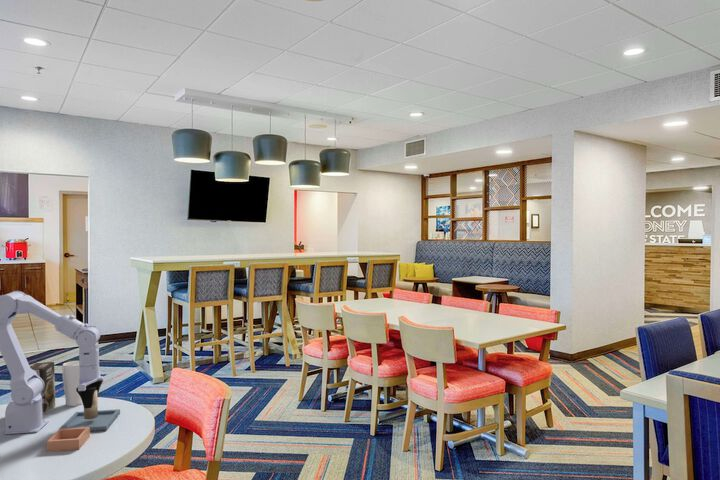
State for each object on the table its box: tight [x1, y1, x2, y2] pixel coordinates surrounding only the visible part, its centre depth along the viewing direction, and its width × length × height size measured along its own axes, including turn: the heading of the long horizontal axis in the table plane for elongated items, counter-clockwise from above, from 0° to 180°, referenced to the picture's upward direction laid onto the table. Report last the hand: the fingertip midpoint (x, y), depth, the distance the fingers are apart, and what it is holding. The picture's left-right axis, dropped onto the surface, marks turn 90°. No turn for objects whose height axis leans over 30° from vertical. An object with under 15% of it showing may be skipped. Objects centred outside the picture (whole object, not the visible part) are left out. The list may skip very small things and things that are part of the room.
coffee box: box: [29, 361, 56, 416], centre depth 175 cm, size 9×6×16 cm
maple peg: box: [83, 390, 99, 419], centre depth 165 cm, size 4×4×8 cm
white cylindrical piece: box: [61, 360, 83, 407], centre depth 181 cm, size 7×7×15 cm
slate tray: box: [58, 408, 121, 433], centre depth 165 cm, size 14×14×2 cm
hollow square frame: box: [46, 427, 91, 453], centre depth 150 cm, size 9×9×3 cm
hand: (90, 405), depth 165 cm, fingers closed on maple peg, 4 cm apart
